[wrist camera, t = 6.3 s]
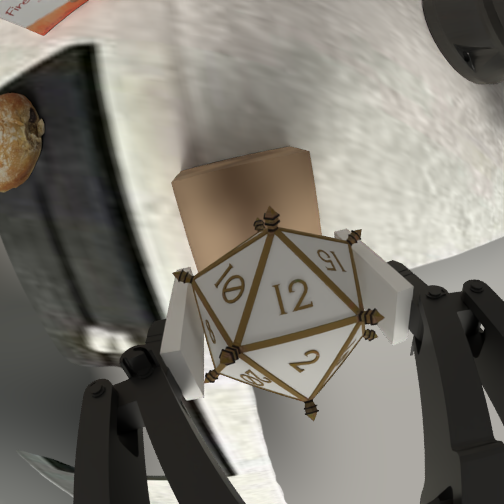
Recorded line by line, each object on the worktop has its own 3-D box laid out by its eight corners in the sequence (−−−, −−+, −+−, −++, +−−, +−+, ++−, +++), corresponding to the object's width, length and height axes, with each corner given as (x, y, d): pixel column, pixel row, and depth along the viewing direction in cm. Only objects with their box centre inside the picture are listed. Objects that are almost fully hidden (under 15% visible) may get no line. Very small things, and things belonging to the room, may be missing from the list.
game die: (272, 266, 20) (312, 410, 16) (149, 254, 16) (176, 444, 11) (368, 181, 14) (450, 367, 10) (224, 122, 10) (316, 452, 5)
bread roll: (63, 159, 26) (53, 148, 20) (-6, 212, 23) (-32, 217, 16) (33, 91, 22) (19, 64, 16) (-34, 142, 19) (-62, 130, 12)
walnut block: (289, 146, 26) (309, 151, 20) (306, 245, 30) (325, 272, 24) (180, 171, 25) (171, 182, 20) (208, 269, 29) (207, 301, 24)
